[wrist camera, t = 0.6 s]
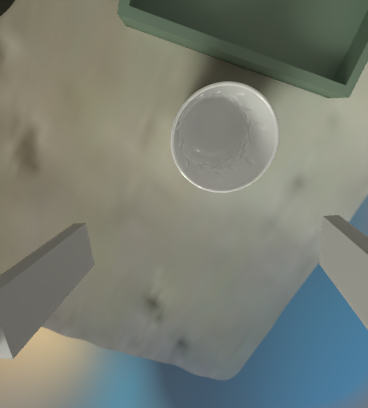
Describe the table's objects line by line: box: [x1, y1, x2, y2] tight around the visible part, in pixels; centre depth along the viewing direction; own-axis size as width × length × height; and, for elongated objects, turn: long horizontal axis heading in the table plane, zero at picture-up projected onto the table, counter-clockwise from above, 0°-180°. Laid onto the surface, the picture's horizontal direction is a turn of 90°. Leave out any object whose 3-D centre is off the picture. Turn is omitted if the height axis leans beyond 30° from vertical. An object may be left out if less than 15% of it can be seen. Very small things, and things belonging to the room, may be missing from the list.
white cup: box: [170, 81, 279, 193], centre depth 23 cm, size 8×8×10 cm
